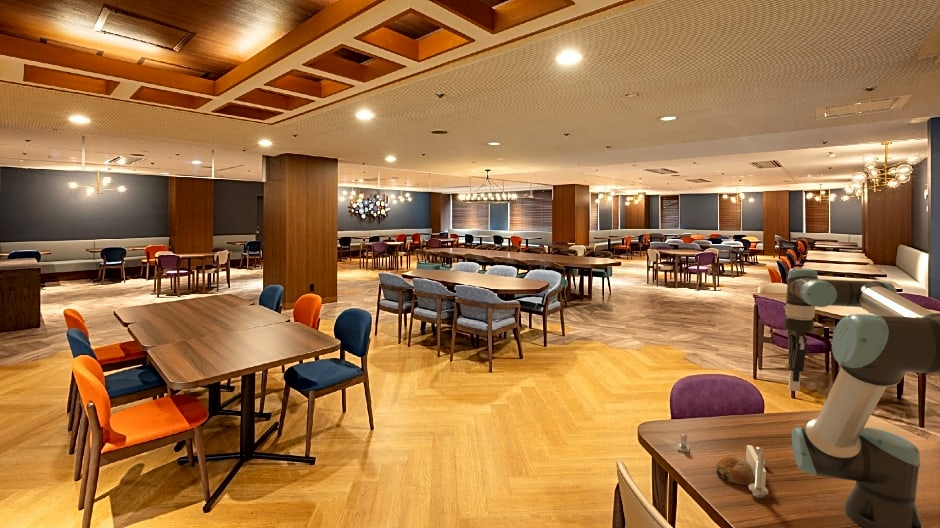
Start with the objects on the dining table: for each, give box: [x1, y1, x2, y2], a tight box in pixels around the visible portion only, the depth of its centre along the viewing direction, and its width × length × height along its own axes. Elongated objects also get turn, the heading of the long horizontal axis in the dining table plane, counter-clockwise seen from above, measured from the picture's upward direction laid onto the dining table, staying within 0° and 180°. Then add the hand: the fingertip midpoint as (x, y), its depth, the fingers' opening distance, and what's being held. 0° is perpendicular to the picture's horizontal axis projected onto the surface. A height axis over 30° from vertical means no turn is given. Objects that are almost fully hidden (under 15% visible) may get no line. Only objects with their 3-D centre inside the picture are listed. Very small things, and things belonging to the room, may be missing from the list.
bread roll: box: [716, 455, 756, 486], centre depth 143 cm, size 10×10×8 cm
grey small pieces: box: [677, 433, 767, 468], centre depth 156 cm, size 4×26×5 cm, turn 66°
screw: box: [747, 452, 769, 499], centre depth 133 cm, size 13×5×5 cm
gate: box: [745, 444, 767, 487], centre depth 144 cm, size 2×17×5 cm, turn 161°
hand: (793, 390), depth 149 cm, fingers closed
